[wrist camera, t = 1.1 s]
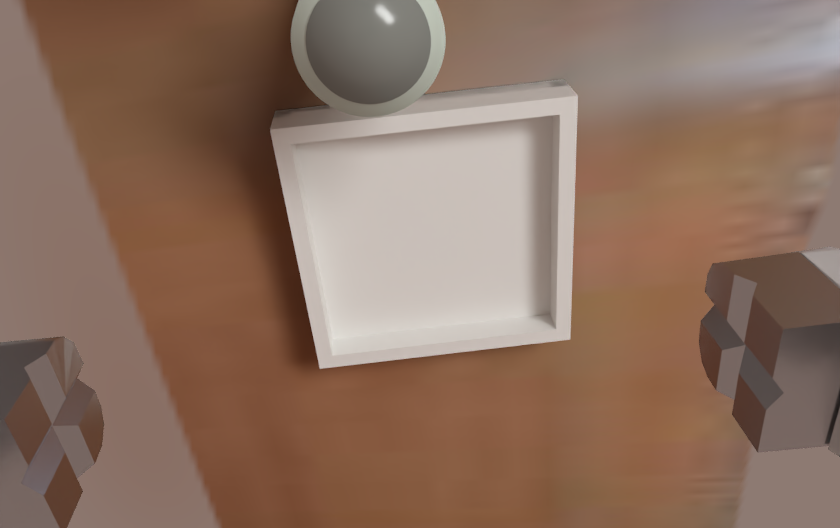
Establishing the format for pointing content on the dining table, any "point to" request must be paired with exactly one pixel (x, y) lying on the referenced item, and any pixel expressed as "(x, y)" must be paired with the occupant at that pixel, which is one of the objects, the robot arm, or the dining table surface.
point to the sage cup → (368, 52)
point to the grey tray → (433, 221)
